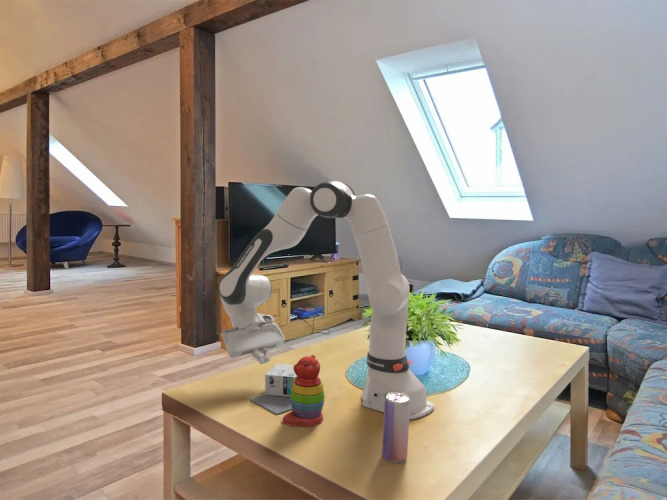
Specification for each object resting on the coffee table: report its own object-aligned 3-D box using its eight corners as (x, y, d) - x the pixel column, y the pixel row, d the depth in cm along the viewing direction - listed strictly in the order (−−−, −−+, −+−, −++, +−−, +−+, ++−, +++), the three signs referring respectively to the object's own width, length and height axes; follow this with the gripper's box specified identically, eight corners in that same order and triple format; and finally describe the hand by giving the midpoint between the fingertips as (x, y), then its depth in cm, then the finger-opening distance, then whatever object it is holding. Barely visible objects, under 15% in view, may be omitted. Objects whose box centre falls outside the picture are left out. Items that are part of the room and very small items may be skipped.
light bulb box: (264, 395, 152) (298, 398, 150) (264, 374, 151) (298, 377, 149) (276, 382, 162) (308, 385, 160) (276, 362, 162) (308, 365, 159)
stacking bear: (299, 408, 145) (300, 348, 143) (330, 415, 141) (332, 354, 139) (279, 422, 135) (281, 359, 133) (312, 431, 131) (314, 366, 129)
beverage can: (379, 460, 118) (382, 399, 116) (385, 448, 123) (388, 390, 122) (403, 466, 116) (407, 404, 114) (409, 454, 121) (412, 394, 119)
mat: (316, 401, 150) (316, 399, 150) (277, 415, 140) (277, 413, 140) (289, 388, 159) (289, 386, 159) (250, 400, 149) (250, 399, 149)
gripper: (223, 325, 152) (241, 364, 146) (276, 315, 167) (294, 350, 161) (215, 336, 156) (232, 374, 150) (268, 325, 170) (285, 360, 164)
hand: (265, 362), depth 155 cm, fingers closed
